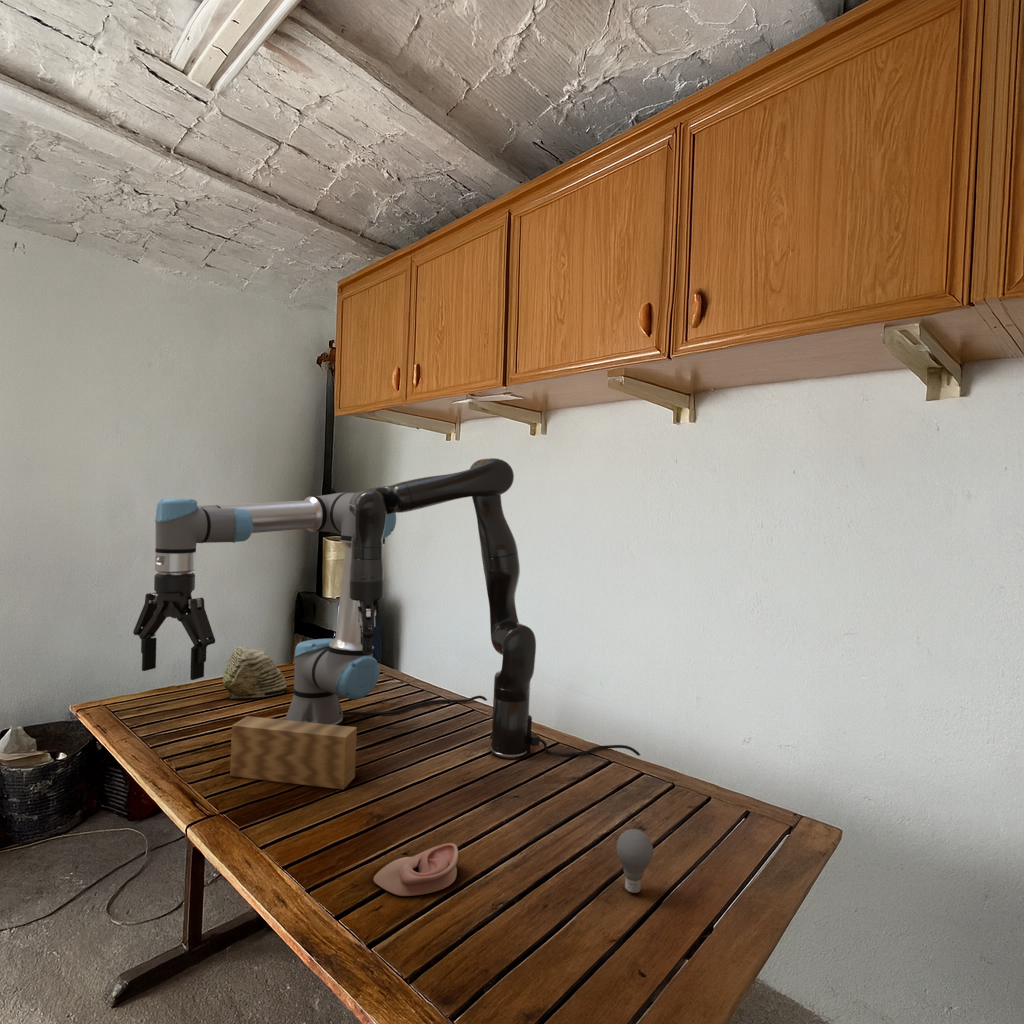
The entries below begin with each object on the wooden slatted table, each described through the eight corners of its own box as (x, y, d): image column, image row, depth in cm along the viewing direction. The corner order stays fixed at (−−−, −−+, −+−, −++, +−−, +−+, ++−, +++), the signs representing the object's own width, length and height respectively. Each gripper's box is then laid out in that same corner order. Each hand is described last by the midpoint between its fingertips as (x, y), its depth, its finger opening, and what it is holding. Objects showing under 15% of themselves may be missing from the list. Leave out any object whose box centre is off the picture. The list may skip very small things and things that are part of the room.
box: (229, 776, 141) (231, 725, 141) (245, 764, 148) (247, 715, 147) (343, 789, 137) (345, 737, 137) (355, 777, 144) (357, 727, 143)
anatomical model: (366, 866, 102) (393, 830, 114) (365, 890, 103) (392, 852, 114) (444, 879, 100) (464, 841, 111) (443, 904, 100) (463, 864, 111)
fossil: (218, 695, 195) (220, 647, 195) (278, 685, 208) (279, 640, 207) (228, 703, 189) (230, 653, 188) (289, 692, 201) (290, 645, 201)
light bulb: (610, 879, 108) (613, 822, 108) (644, 879, 109) (647, 822, 109) (619, 902, 102) (622, 840, 102) (655, 901, 103) (658, 840, 103)
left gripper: (115, 569, 133) (113, 670, 133) (206, 579, 124) (203, 687, 124) (147, 566, 140) (145, 661, 140) (235, 575, 131) (232, 677, 131)
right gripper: (386, 582, 138) (385, 656, 138) (381, 573, 151) (380, 640, 152) (350, 583, 135) (350, 658, 136) (348, 574, 149) (348, 642, 150)
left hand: (172, 673), depth 132 cm, fingers open, 13 cm apart
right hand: (366, 648), depth 144 cm, fingers open, 8 cm apart
